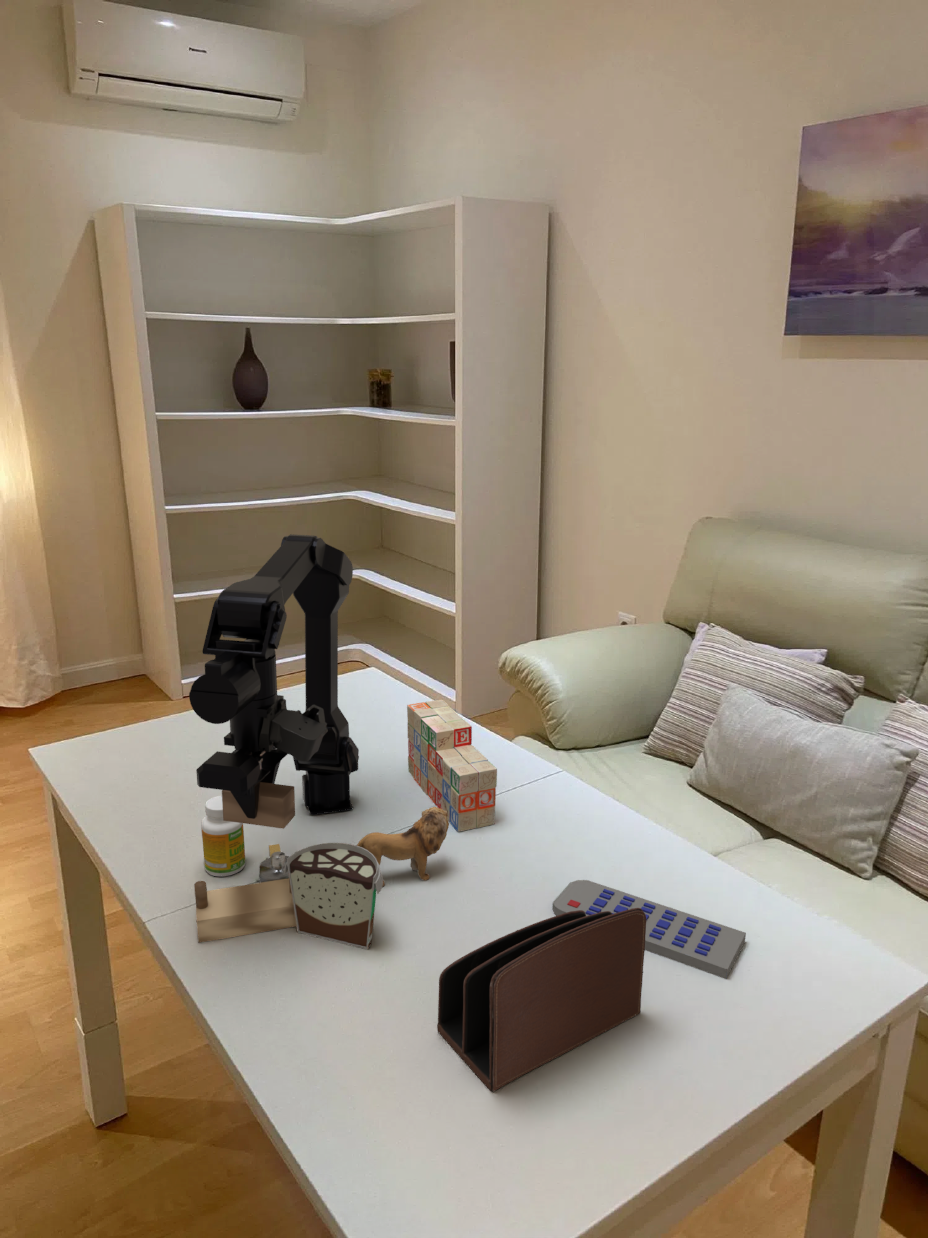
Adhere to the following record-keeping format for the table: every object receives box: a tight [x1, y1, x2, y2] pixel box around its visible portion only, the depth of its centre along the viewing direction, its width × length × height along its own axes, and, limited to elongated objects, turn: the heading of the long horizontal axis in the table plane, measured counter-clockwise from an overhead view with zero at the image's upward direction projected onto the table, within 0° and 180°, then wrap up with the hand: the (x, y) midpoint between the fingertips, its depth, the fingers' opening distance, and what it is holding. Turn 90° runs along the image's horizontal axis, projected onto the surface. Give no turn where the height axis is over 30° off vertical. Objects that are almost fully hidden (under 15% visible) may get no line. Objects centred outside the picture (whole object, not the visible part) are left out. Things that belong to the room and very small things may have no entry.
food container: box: [284, 842, 384, 950], centre depth 111 cm, size 12×6×10 cm, turn 71°
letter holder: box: [436, 908, 646, 1092], centre depth 95 cm, size 10×20×14 cm, turn 124°
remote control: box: [551, 879, 747, 980], centre depth 112 cm, size 8×23×2 cm, turn 59°
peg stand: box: [193, 878, 297, 944], centre depth 112 cm, size 13×6×6 cm, turn 107°
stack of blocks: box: [406, 699, 498, 832], centre depth 142 cm, size 21×6×12 cm, turn 23°
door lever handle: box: [258, 843, 290, 883], centre depth 122 cm, size 5×8×4 cm, turn 17°
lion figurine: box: [356, 806, 450, 888], centre depth 121 cm, size 15×5×9 cm, turn 113°
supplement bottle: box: [201, 795, 246, 877], centre depth 123 cm, size 5×5×10 cm
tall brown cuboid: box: [221, 782, 296, 830], centre depth 113 cm, size 4×8×4 cm, turn 77°
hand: (258, 810), depth 113 cm, fingers closed on tall brown cuboid, 3 cm apart
